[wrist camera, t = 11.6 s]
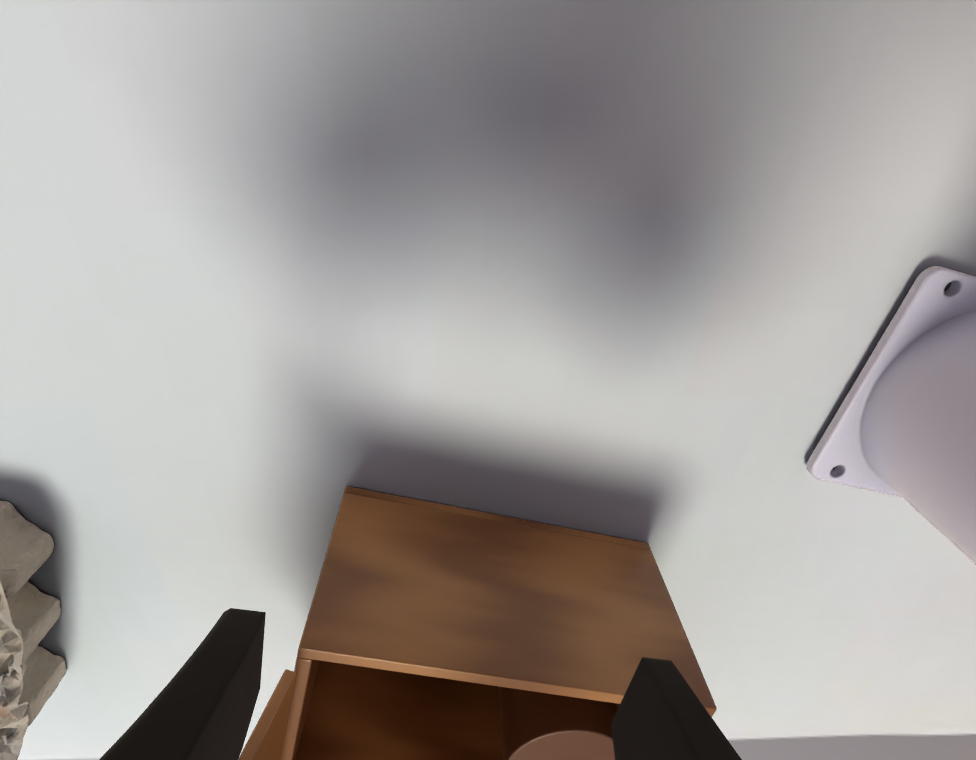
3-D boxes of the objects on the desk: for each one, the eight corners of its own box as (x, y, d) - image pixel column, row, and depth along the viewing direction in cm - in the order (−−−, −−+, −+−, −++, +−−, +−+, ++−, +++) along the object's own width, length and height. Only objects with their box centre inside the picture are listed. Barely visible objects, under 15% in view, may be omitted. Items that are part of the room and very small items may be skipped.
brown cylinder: (605, 591, 23) (649, 739, 18) (573, 659, 25) (604, 813, 20) (509, 574, 23) (524, 723, 17) (483, 644, 24) (489, 800, 19)
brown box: (312, 651, 25) (263, 837, 19) (346, 485, 21) (298, 647, 15) (575, 690, 27) (610, 871, 20) (648, 542, 23) (717, 709, 17)
